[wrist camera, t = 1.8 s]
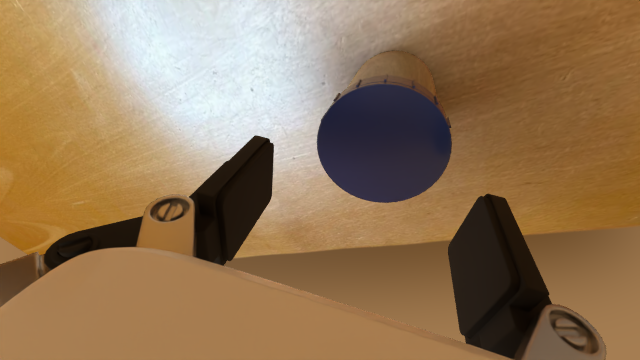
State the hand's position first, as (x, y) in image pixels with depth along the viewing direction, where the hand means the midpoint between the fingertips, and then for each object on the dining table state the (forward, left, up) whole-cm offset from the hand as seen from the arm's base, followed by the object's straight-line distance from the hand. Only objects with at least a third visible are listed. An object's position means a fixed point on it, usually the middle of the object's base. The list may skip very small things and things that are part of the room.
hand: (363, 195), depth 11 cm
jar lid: (0, 0, -4) cm, 4 cm away
